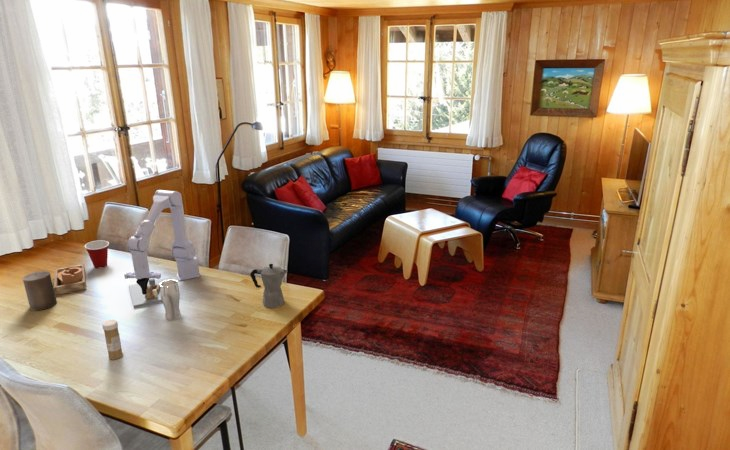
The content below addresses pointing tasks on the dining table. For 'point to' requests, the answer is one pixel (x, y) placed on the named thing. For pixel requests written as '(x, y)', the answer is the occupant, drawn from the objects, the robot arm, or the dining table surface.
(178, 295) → the beer glass
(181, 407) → the dining table surface
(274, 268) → the coffeepot
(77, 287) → the parts corral
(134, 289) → the base board
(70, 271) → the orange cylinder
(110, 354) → the sprinkles bottle
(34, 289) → the pillar candle
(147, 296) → the brown wooden blocky piece
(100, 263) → the plastic cup
